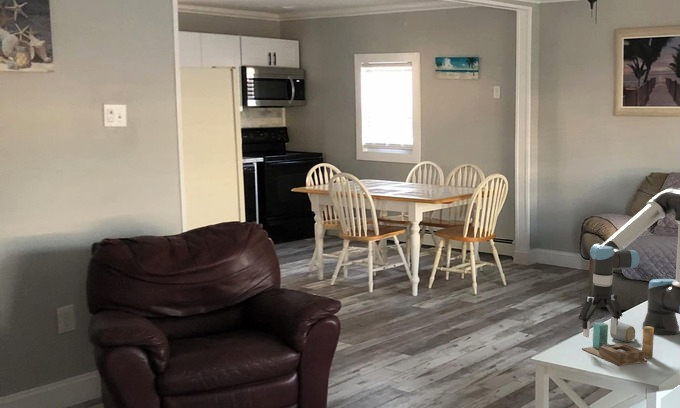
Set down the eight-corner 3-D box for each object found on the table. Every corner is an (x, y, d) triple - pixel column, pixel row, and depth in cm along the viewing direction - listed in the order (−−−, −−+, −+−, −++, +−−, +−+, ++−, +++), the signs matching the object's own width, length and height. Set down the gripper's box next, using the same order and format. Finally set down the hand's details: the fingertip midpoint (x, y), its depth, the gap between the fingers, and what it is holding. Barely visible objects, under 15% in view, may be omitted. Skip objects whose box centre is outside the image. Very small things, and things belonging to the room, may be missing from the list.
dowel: (647, 354, 326) (648, 325, 324) (654, 357, 322) (656, 328, 321) (639, 356, 324) (640, 326, 323) (646, 359, 321) (648, 329, 319)
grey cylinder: (626, 344, 340) (627, 326, 339) (609, 339, 346) (610, 322, 345) (640, 339, 346) (641, 322, 346) (622, 335, 353) (623, 318, 352)
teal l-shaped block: (600, 345, 336) (601, 322, 334) (630, 358, 319) (631, 333, 318) (592, 346, 334) (593, 323, 333) (622, 359, 318) (623, 334, 316)
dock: (609, 345, 338) (609, 336, 337) (647, 361, 318) (647, 351, 317) (581, 349, 333) (582, 340, 332) (618, 365, 313) (619, 355, 312)
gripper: (620, 280, 337) (617, 329, 340) (571, 284, 328) (568, 335, 331) (633, 284, 331) (630, 334, 333) (583, 288, 321) (580, 340, 324)
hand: (599, 335), depth 332 cm, fingers open, 13 cm apart
